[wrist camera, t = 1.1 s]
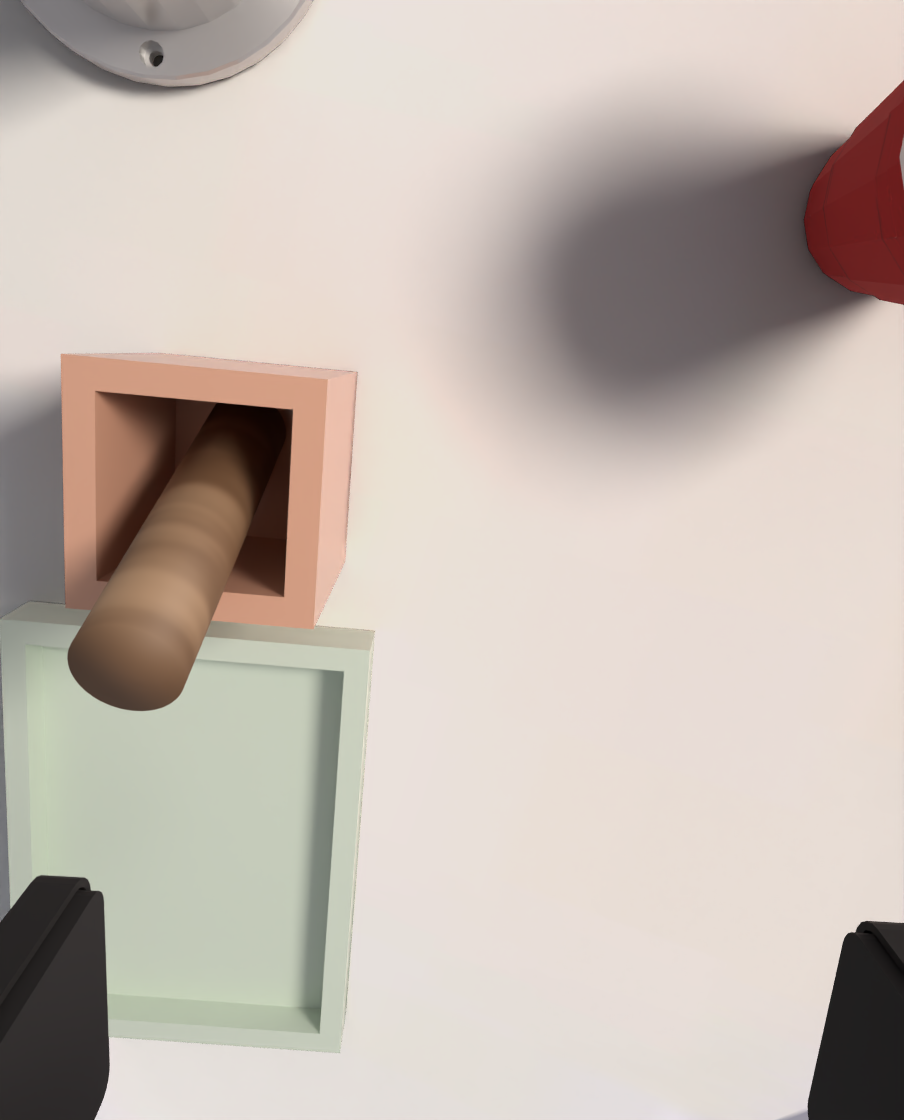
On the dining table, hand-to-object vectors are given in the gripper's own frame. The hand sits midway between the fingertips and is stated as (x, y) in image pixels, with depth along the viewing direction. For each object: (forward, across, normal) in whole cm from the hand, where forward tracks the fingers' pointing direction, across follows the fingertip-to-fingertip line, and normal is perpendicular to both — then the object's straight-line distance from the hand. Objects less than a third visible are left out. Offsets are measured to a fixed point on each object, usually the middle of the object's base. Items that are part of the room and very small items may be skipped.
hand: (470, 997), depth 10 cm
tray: (+26, +11, +14) cm, 32 cm away
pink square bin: (+26, +8, -3) cm, 28 cm away
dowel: (+25, +8, -2) cm, 27 cm away
